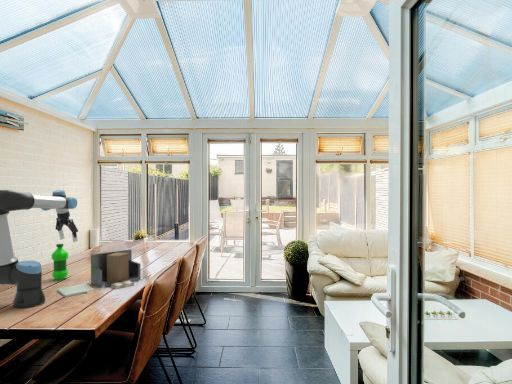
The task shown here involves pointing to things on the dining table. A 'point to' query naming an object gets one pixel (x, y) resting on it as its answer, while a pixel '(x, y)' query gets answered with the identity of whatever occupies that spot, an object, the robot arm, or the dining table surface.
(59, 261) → the plastic bottle
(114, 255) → the wooden block
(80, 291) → the sage mat
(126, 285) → the cream offcut
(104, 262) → the rack
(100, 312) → the dining table surface
